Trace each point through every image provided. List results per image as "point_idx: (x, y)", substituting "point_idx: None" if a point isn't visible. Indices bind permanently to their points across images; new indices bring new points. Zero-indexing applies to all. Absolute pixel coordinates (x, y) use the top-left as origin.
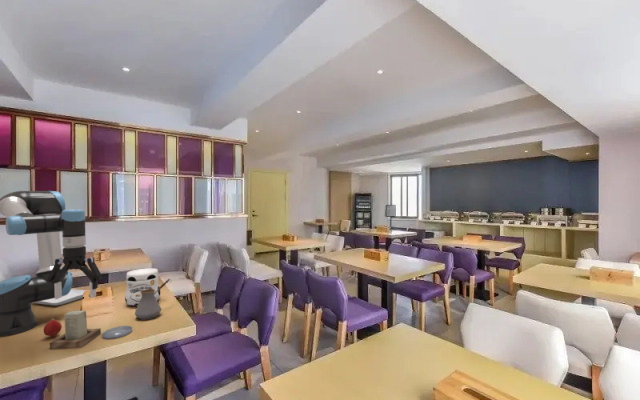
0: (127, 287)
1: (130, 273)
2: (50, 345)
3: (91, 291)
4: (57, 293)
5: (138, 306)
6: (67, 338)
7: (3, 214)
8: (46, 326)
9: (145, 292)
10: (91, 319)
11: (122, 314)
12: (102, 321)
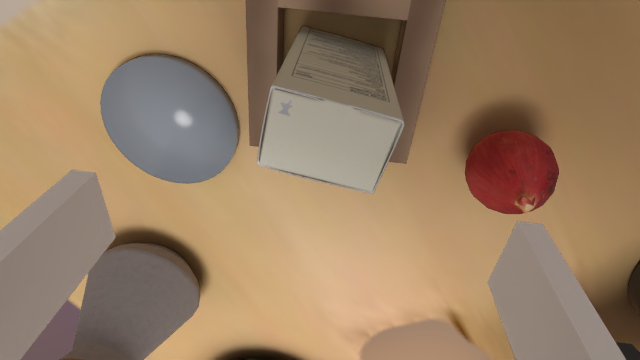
0: None
1: None
2: None
3: (6, 227)
4: (541, 293)
5: (153, 300)
6: (372, 52)
7: None
8: (543, 160)
9: None
10: (398, 294)
11: (288, 310)
12: (336, 265)
